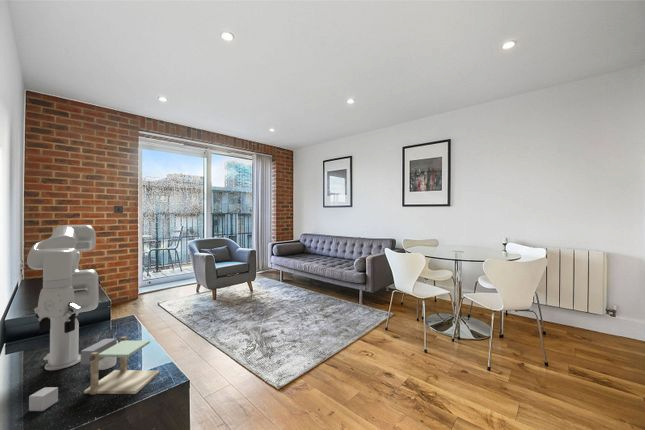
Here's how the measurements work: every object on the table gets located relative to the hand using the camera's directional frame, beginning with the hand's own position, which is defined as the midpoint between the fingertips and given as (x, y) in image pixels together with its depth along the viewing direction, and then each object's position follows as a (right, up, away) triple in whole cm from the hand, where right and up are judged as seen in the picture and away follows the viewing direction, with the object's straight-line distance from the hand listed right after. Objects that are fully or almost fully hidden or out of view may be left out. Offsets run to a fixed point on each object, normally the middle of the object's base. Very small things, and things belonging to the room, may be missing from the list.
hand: (57, 331), depth 97 cm
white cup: (-1, -26, +23) cm, 35 cm away
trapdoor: (+13, -15, +11) cm, 23 cm away
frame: (+17, -25, +10) cm, 32 cm away
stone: (-2, -25, -3) cm, 25 cm away
